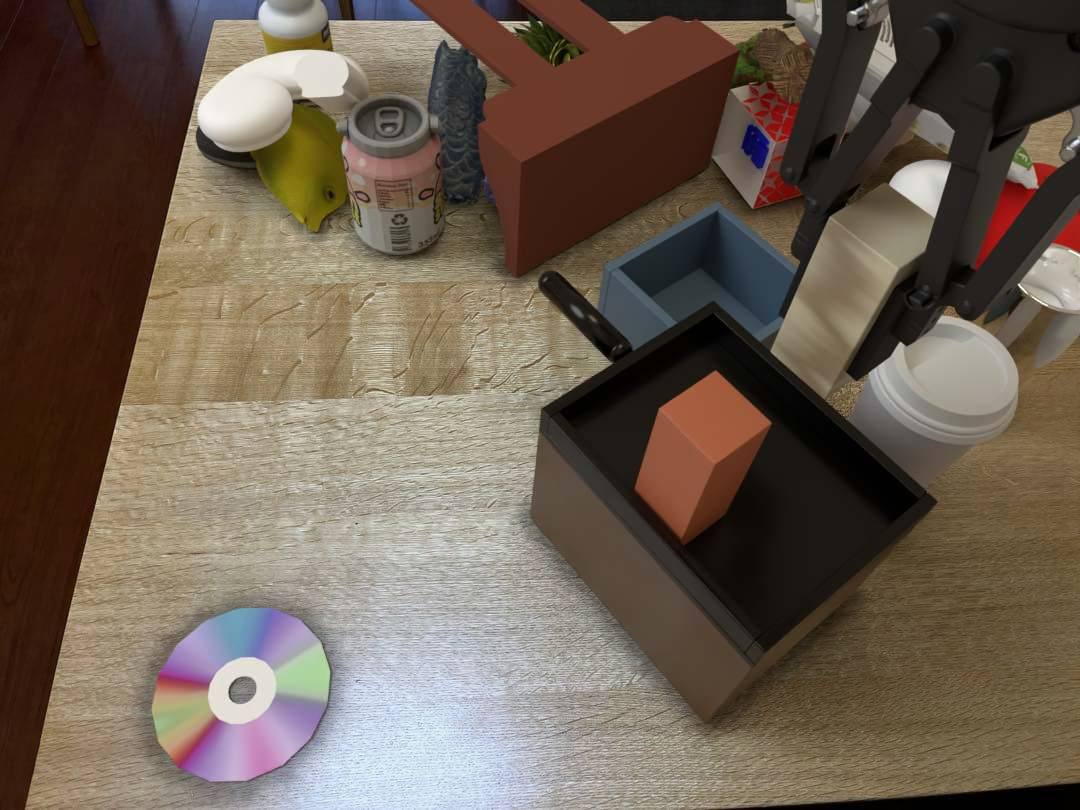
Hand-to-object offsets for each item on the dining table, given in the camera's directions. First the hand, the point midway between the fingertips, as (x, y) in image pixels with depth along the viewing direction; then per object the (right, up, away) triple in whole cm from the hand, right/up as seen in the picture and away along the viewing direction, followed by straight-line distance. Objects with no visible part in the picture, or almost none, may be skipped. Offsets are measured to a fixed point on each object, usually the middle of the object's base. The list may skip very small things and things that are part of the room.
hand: (833, 334), depth 46 cm
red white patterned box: (+7, +19, +41) cm, 46 cm away
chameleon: (+16, +30, +36) cm, 49 cm away
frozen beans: (+5, +32, +28) cm, 42 cm away
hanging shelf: (-8, +17, +30) cm, 36 cm away
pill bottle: (-39, +29, +44) cm, 66 cm away
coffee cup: (+10, -9, +22) cm, 26 cm away
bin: (-2, +2, +29) cm, 29 cm away
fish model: (-24, +23, +42) cm, 53 cm away
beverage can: (-28, +13, +34) cm, 46 cm away
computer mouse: (-43, +24, +36) cm, 60 cm away
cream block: (0, -1, +2) cm, 2 cm away
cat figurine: (+14, +9, +34) cm, 38 cm away
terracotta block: (-7, -10, +6) cm, 13 cm away
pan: (-7, -12, +19) cm, 24 cm away
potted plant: (-12, +24, +43) cm, 50 cm away
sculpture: (-37, +21, +31) cm, 53 cm away
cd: (-35, -22, +10) cm, 42 cm away
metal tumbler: (+20, -3, +27) cm, 34 cm away
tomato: (+26, +8, +35) cm, 44 cm away
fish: (-41, +18, +32) cm, 55 cm away
